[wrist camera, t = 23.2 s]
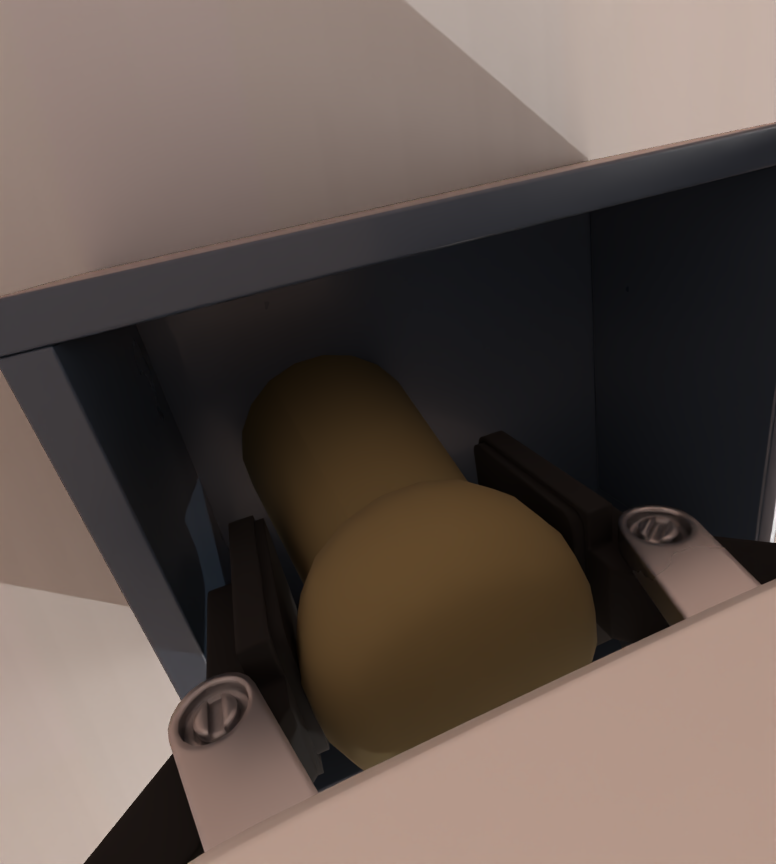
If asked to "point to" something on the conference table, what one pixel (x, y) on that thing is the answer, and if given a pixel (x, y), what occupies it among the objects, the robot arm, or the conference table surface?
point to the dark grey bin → (423, 358)
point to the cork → (405, 564)
